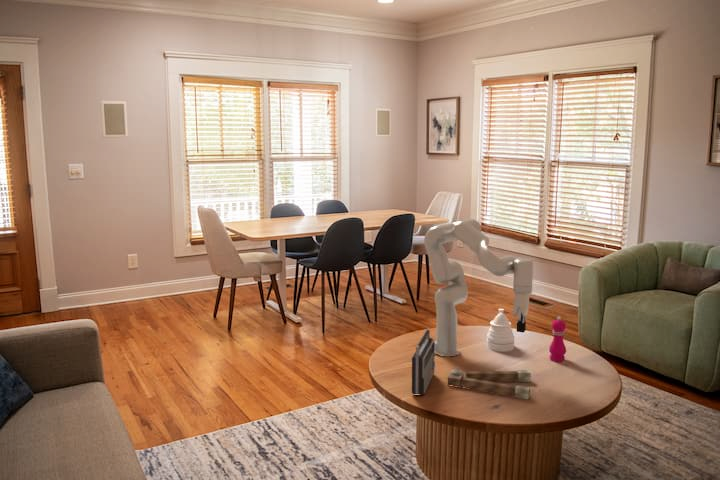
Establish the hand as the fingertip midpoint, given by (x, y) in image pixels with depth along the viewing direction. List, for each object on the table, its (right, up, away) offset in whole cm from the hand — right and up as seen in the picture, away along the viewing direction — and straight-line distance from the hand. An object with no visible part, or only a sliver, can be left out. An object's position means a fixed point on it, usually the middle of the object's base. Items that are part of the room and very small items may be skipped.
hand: (521, 330), depth 253 cm
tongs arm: (-10, -20, -3) cm, 23 cm away
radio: (-41, -21, -6) cm, 47 cm away
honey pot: (0, -13, +36) cm, 39 cm away
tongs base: (-16, -21, -10) cm, 29 cm away
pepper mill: (+21, -16, +19) cm, 33 cm away
